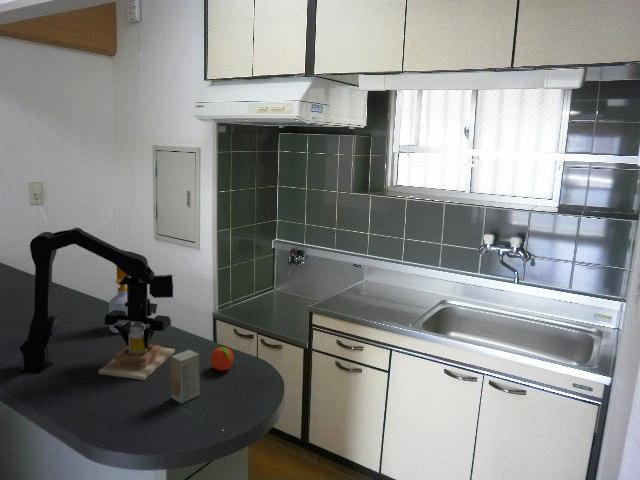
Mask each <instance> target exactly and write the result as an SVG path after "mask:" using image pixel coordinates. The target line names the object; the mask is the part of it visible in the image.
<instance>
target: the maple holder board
mask: <svg viewBox="0 0 640 480" xmlns="http://www.w3.org/2000/svg"><path fill="white" fill-rule="evenodd" d="M147 351H148V352H147V353H146V354H145V355H144V356H141V355H134V354H129V347H128V346H127V345H126V346H124V347H123V348H122V349H121V350H119V351H118V352H117V353H115V354H114V358H113V359H112V360H110V361H109V362H108V363H107V364H105V365H104V366H103V367H102V368H100V369H98V371H97V372H98V375H105V376H112V377H117V378H118V377H119V378H127V379H135V380H140V381H141V380H143V381H144V380H146V379H147V378H148V377H149V376H150V375H151V374H152V373H153V372H155V371H156V370H157V369H158V368H159V367H160V366H161V365H162V364H163V363H164V362H165V361H166V360H168V358H171V356H173V355H174V353H175V352H176V351H175V348H170V347H169V348H168V347H162V346H161V345H157V344H151V343H150V344H149V347H148V348H147Z"/></svg>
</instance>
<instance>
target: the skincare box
mask: <svg viewBox="0 0 640 480" xmlns="http://www.w3.org/2000/svg"><path fill="white" fill-rule="evenodd" d="M170 369H171V371H170V374H171V375H170V376H171V377H170V379H171V380H170V381H171V399H172V400H173V401H176V402H177V403H179V404H183V403H186V402H188V401H190V400H192V399H194V398H197V397H199V396H200V354H199V353H198V352H196V351H193V350H192V349H186V350H185V351H181V352H178V353H176V354H172V355H171V356H170Z"/></svg>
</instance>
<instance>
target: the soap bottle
mask: <svg viewBox="0 0 640 480" xmlns="http://www.w3.org/2000/svg"><path fill="white" fill-rule="evenodd" d="M125 275H127V274H126V273H124V272H123V271H121V270H120V269H119V268H118V267H117V266H116V280H115V284H118V285H119V287H118V288H117V294H116V295H115V296H113V297H112V298H110V300H109V303H108V313H110V312H112V311H113V310H119V311H125V312H126V315H127V307H126V306H125V303H126V302H127V286H126V285H121V284H120V281H121V279H123V278H124V277H125ZM132 324H134V323H132ZM132 324H131V325H132ZM114 325H115V324H114ZM114 325H109V331H110V332H112V333H115V334H120V333H119V332H118V330H117V329H116V328H114ZM130 330H131V327H130Z"/></svg>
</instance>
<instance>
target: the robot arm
mask: <svg viewBox="0 0 640 480" xmlns="http://www.w3.org/2000/svg"><path fill="white" fill-rule="evenodd" d="M72 245H76V246H78V247H80V248H82V249H84V250H86V251H89V252H90V253H92V254H94V255H96V256H98V257H100V258H103V259H105V260H106V261H108V262H111V263H112V264H113V265H115V266H116V268H117V267H118V268H119V269H120V270H121V271H123V272H124V273H126V274H127V275H125V277H124V278H123V279H121V281H120V284H121V285H125V286H126V287H127V302H126V303H125V306H126V307H127V315H126V312H125V311H119V310H113V311H112V312H110V313H109V312H108V313H107V314H106V315H105V316H104V317H103V320H104V321H103V322H104V323H103V324H104V325H107V326H110V325H114V324H115V325H114V328H116V329H117V330H118V332H119V333H118V334H119V335H120V336H121V338H122V339H123V341H124V343H125V344H126V346H128V347H129V332H130V331H131V330H130V327H131V324H132V323H139V324H145V325H146V327H145V329H144V344H145V349H147V348H148V347H149V344H151V342H152V339H153V335H154V334H155V332H164V331H165V330H166V329H168V327H170V326H171V325H172V319H171V318H170V316H169V315H168V316H167V315H160V314H159V315H156V314H157V309H158V303H154V302H153V303H152V302H151V300H150V298H148V294H149V295H151V297H153V299H161V298H164V299H168V298H169V299H170V298H172V299H173V298H174V283H173V275H172V274H165V275H164V274H162V275H159V274H158V275H157V274H155V272H154V271H153V270H152V268H151V267H150V265H149V263H148V259H147V258H146V256H145V255H143V254H140V253H135V252H133V251H128V250H123V249H120V248H118V247H117V246H114V245H112V244H110V243H108V242H106V241H104V240H103V239H101V238H98V237H97V236H95V235H92V234H91V233H89V232H86V231H85V230H83V229H82V228H79V227H74V228H71V229H66V230H60V231H57V232H50V231H42V232H40V233H39V234H38V235H37V236H35V237H33V238H32V239H31V241H30V244H29V249H30V254H31V259H32V261H33V264H34V268H35V269H34V270H35V271H34V303H33V304H34V305H33V306H34V307H33V308H34V309H33V317H32V320H31V322H30V325H29V329H28V334H27V337H26V338H25V339H24V341H22V343H21V344H20V345H19V348H18V349H19V350H20V352H21V354H22V359H23V362H22V363H23V365H22V366H21V367H19V369H18V370H19V371H23V372H29V373H37V374H39V373H41V372H43V371H45V370H47V368H49V367H51V366H52V365H54V361H49V360H50V359H49V357H50V356H49V348H48V343H50V340H52V338H53V336H55V334H56V332H57V331H58V329H59V327H58V320H59V316H58V315H54V314H53V313H52V287H53V285H52V284H53V264H54V262H55V261H54V260H55V257H56V254H57V251H58V250H59V249H63V248H66V247H68V246H72ZM148 285H149V286H148ZM148 287H149V293H148ZM152 314H154V315H156V316H155V317H153V318H151V316H152ZM149 317H150V318H149Z"/></svg>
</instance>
